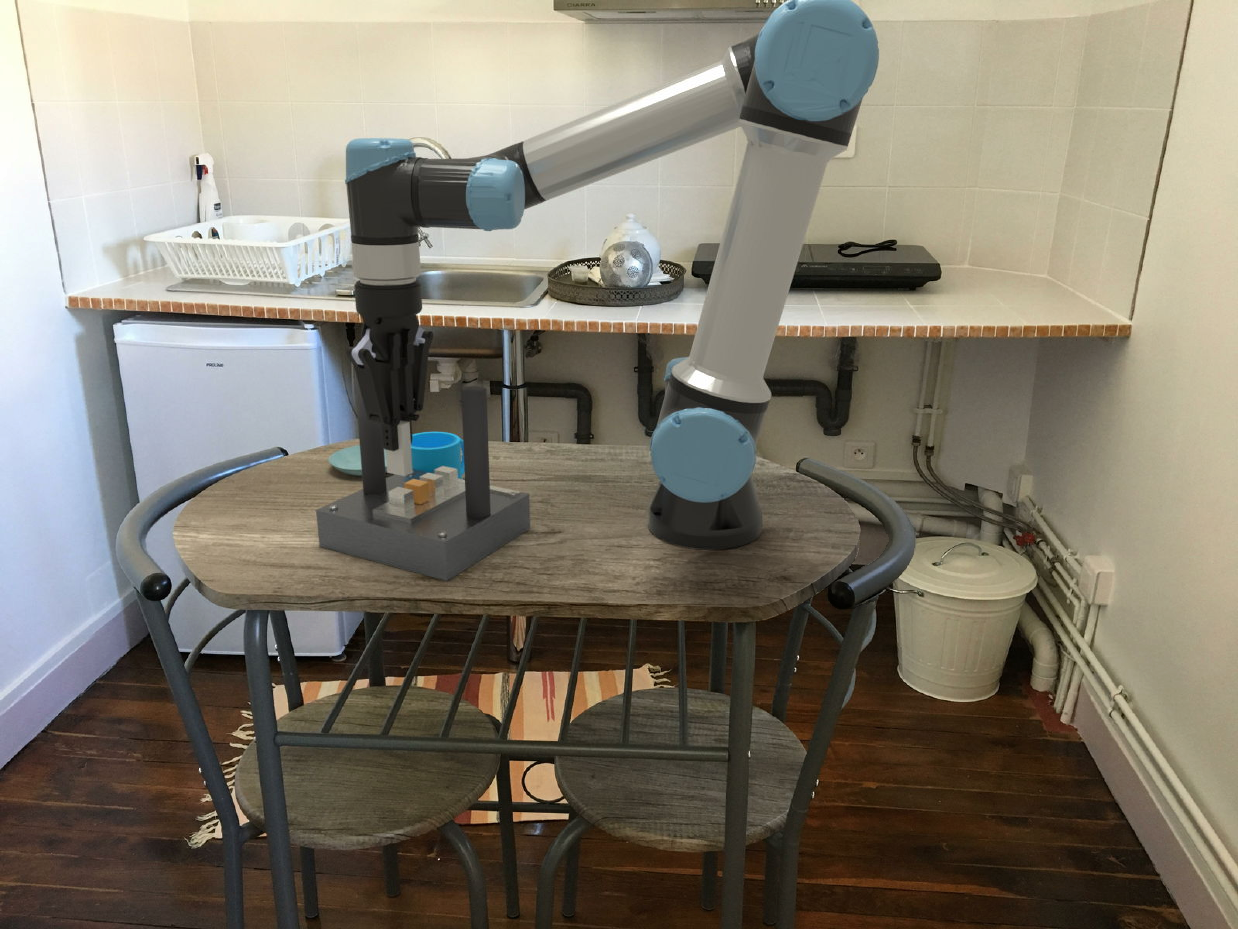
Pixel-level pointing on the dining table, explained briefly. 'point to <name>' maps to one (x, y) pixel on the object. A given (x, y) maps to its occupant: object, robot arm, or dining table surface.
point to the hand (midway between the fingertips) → (399, 472)
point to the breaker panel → (422, 525)
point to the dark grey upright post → (370, 449)
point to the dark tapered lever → (476, 451)
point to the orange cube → (418, 490)
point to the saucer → (349, 460)
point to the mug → (437, 452)
